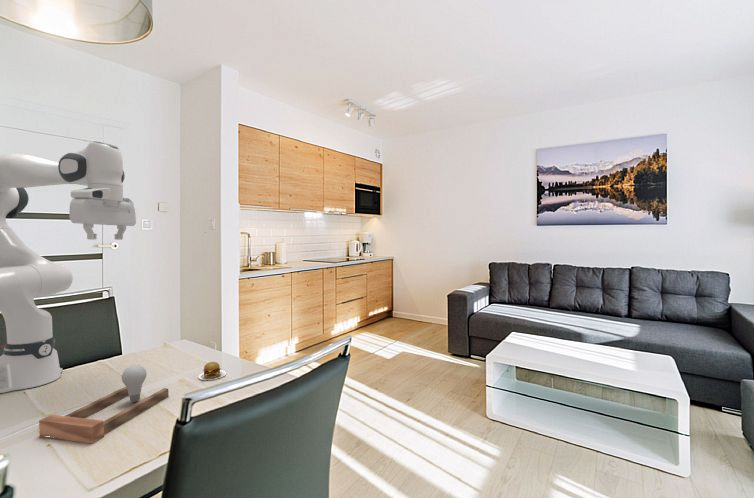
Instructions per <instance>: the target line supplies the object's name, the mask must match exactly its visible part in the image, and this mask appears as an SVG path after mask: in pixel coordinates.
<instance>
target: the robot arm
mask: <svg viewBox="0 0 754 498" xmlns="http://www.w3.org/2000/svg"><path fill="white" fill-rule="evenodd" d="M125 178H126V177H125V171H124V164H123V156H122V151H121V150H120V148H119V147H118V146H115V145H113V144H108V143H105V142H102V141H96V140H95V141H91V142H89V143H88V144H87V146H85V148H82V149H81V150H78V151H75V152H68V153H66V154H64V155H62V157H60V158H59V161H58V162H57V161H53V160H49V159H46V158H42V157H38V156H33V155H30V154H26V153H25V154H23V153H2V154H1V153H0V314H1V315H2V316H3V319H4V322H5V323H4V325H5V329H6V330H5V331H6V343H2V344H1V349H3V352H2V355H0V394H3V393H8V392H13V391H19V390H25V389H30V388H34V387H35V388H36V387H39V386H43V385H46V384H49V383H52V382H54V381H56V380H58V379H60V377H61V376H62V375H61V373H63V370H64V369H63V367H60V363H59V362H60V360H59V355H58V351H57V349H55V346H56V339H55V336H54V335H53V334H54V333H53V331H54V330H53V317H52V315H51V313H50V312H49V311H47V310H46V309H43V308H39V307H37V305H36V303H35V299H36V298H41V297H49V296H53V295H56V294H58V293H61V292H65V291H66V290H68V289H69V288H70V287H71V286H72V283H73V274H72V271H71V270H70V269H69V267H67V266H66V265H63V264H59V263H55V262H54V261H51V260H48V259H46V258H45V257H43V256H41V255H40V254H38V253H36V252H35V251H33V250H32V249H31V248H29V247H28V246H27V245H26V244H25V243H24V242H23V241H22V240H21V238H20V237H19V236H18V235H17V234H16V232H15V231H14V230H13V229H12V228H11V227H10V226H9V224H8V222H7V220H6V219H13V218H15V217H17V215H18V214H20V213H21V212H23V210H24V209H25V208H26V207H27V206H28V203H29V195H28V194H29V193H28V192H27V190H26V189H25V188H27V189H28V188H36V187H46V186H47V187H49V186H56V185H59V186H60V185H80V186H86V188H80V189H75V190H71V191H70V197H71V198H72V199H71V200H70V203H69V211H68V212H69V213H68V214H69V217H68V218H69V220H70V222H71V223H73V224H78V225H79V224H80V225H81V224H82V228H83V230H84V231H85V233H86V238H87V240H90V241H91V240H95V241H96V240H97V238H98V237H97V235H98V234H97V233H95V232H94V230H93V228H94V227H95V226H94V225H103V226H116V229H117V232H116V233H115V234H114V240H120V241H122V240H124V234H125V232H126V230H127V227H133V226H135V225H136V224H137V217H136V209H135V207H134V202H133V201H132V200H131V198H129V197H127V198H126V197H124V184H123V183H124V181H125Z"/></svg>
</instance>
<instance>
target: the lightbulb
mask: <svg viewBox="0 0 754 498" xmlns="http://www.w3.org/2000/svg"><path fill="white" fill-rule="evenodd" d="M146 378H147V369H146V368H145V367H144V366H142V365H140V364H133V365H129V366H128V367H127V368H125V369H124V371H123V372H122V375H121V382H122V383H123V385H124V387H127V389H128V394H129V396H128V397H129V402H130V403H138V402H139V401H140V399H141V392H142V387H143V383H144V382H145V381H146Z"/></svg>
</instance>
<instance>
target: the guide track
mask: <svg viewBox="0 0 754 498" xmlns="http://www.w3.org/2000/svg"><path fill="white" fill-rule="evenodd" d="M127 397H129V394H128V389H127V387H126V386H123V387H122V388H120V389H118V390H116V391H113V392H112V393H109V394H107V395H105V396H103V397H100V398H99V399H97V400H95V401H92V402H90V403H89V404H87V405H84V406H82V407H81V408H78V409H75V410H74V411H72V412H69V413H68V414H66V415H59V414H50V415H48V416H46V417H43V418H41V419H40V420H39V421H38V424H39V427H38V429H39V437H42V438H44V437H43V436H50V437H54V438H53V439H55V438H58V440H62V439H63V440H64V441H72V442H79V443H85V444H86V443H87V444H94V443H95V442H97V441H99V440H101V439H102V438H104V437H105V435H106V434H108V433H109V432H111V431H112V430H114V429H116V428H118V427H119V426H122V425H123V424H125V423H127V422H128V421H130V420H132V419H133V418H134V417H136V416H139V415H140V414H141V413H143V412H145V411H147V410H149V409H150V408H152V407H154V406H155V405H157V404H158V403H160V402H162V401H164V400H165V399H168V398H169V388H162V389H160V390H159V391H158V390H157V391H156V392H154V393H153V394H150V395H149V396H148V397H147V396H146V397H145V398H144V399H142V400H139V401H137V402H135V403H134V404H132V405H131V406H129V407H127V408H125V409H124V410H122V411H120V412H118V413H116V414H115V415H113V416H111V417H109V418H107V419H106V420H102V419H93V418H92V419H91V418H89V417H90V416H92V415H94V414H95V413H97V412H99V411H101V410H103V409H105V408H107V407H109V406H112V405H114V404H115V403H117V402H119V401H121V400H123V399H126V398H127Z"/></svg>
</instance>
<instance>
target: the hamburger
mask: <svg viewBox="0 0 754 498" xmlns="http://www.w3.org/2000/svg"><path fill="white" fill-rule="evenodd" d="M221 373H222V374H223V375H222V376H220V374H221ZM202 375H203V376H204V379H208V378H211V379H209V381H214V380H218V378H219V379H220V378H223V377H224V376H226V375H227V372H226V371H225V370H222V369H221V367H220V363H218V362H216V361H209V362H207V363H206V364H204V367H203V372H202V373H200V374H199V375H198V379H199V380H202V381H204V379H203V378H202V377H203V376H202ZM201 376H202V377H201ZM219 376H220V377H219ZM215 377H216V378H215Z"/></svg>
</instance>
